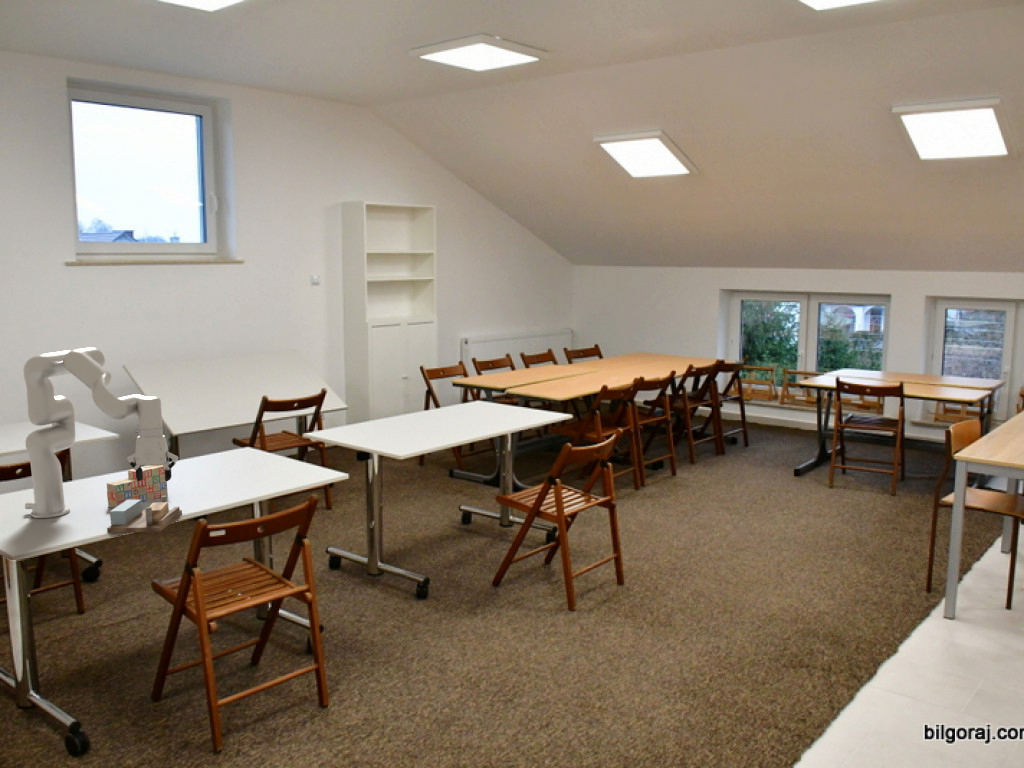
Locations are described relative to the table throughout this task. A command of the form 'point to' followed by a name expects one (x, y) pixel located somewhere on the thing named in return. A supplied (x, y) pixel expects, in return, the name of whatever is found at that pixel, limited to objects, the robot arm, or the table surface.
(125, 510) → the light blue long block
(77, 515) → the table surface
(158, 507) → the wooden block
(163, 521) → the base
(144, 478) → the stack of blocks
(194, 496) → the table surface
